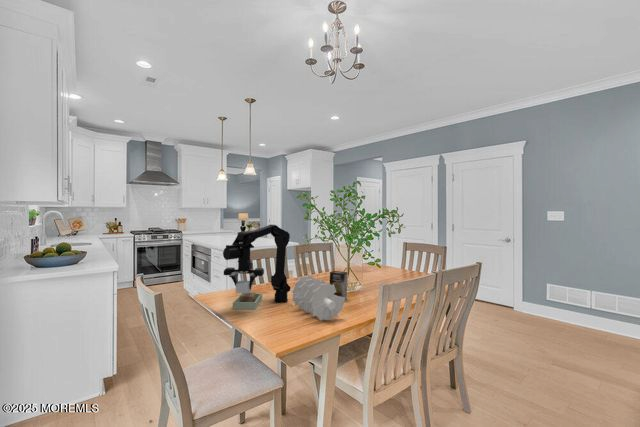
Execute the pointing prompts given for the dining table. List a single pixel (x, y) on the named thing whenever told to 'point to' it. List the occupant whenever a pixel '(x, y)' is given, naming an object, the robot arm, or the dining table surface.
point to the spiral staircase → (317, 298)
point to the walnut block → (247, 297)
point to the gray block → (243, 287)
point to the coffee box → (339, 283)
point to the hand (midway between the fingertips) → (243, 289)
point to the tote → (247, 303)
